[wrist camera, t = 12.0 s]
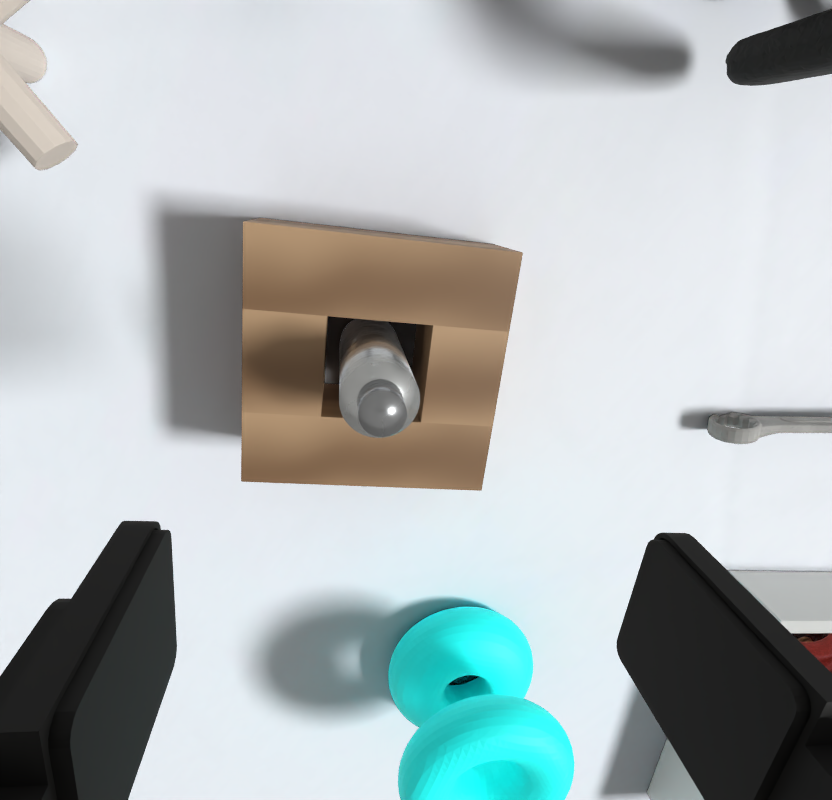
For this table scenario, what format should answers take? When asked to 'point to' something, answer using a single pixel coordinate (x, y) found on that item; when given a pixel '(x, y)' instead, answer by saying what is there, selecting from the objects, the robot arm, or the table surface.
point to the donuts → (475, 713)
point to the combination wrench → (762, 426)
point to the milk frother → (784, 53)
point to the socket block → (383, 301)
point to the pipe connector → (27, 97)
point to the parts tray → (797, 611)
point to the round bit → (375, 380)
